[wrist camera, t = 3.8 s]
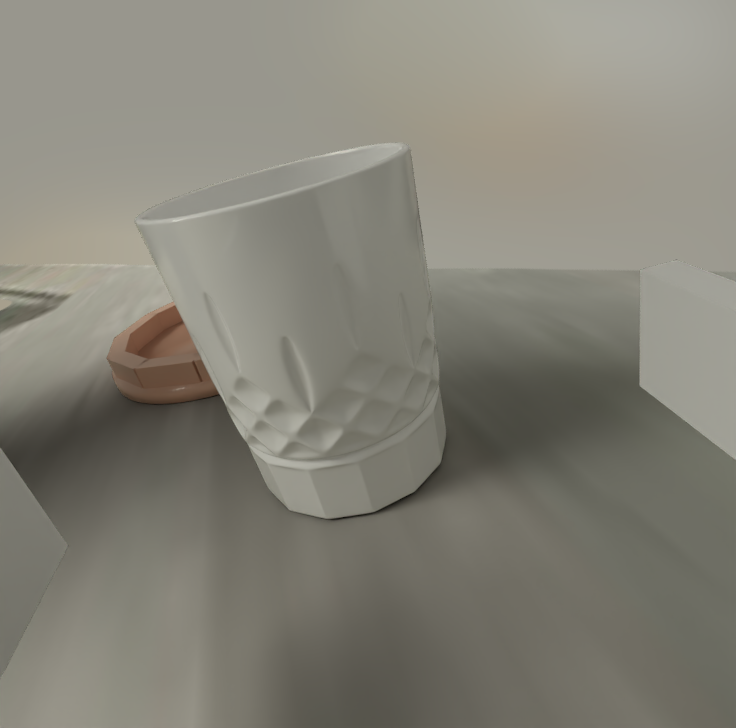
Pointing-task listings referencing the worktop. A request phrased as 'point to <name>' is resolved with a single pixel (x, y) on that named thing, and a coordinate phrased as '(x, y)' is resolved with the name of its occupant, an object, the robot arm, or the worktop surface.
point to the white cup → (314, 322)
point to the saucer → (159, 361)
